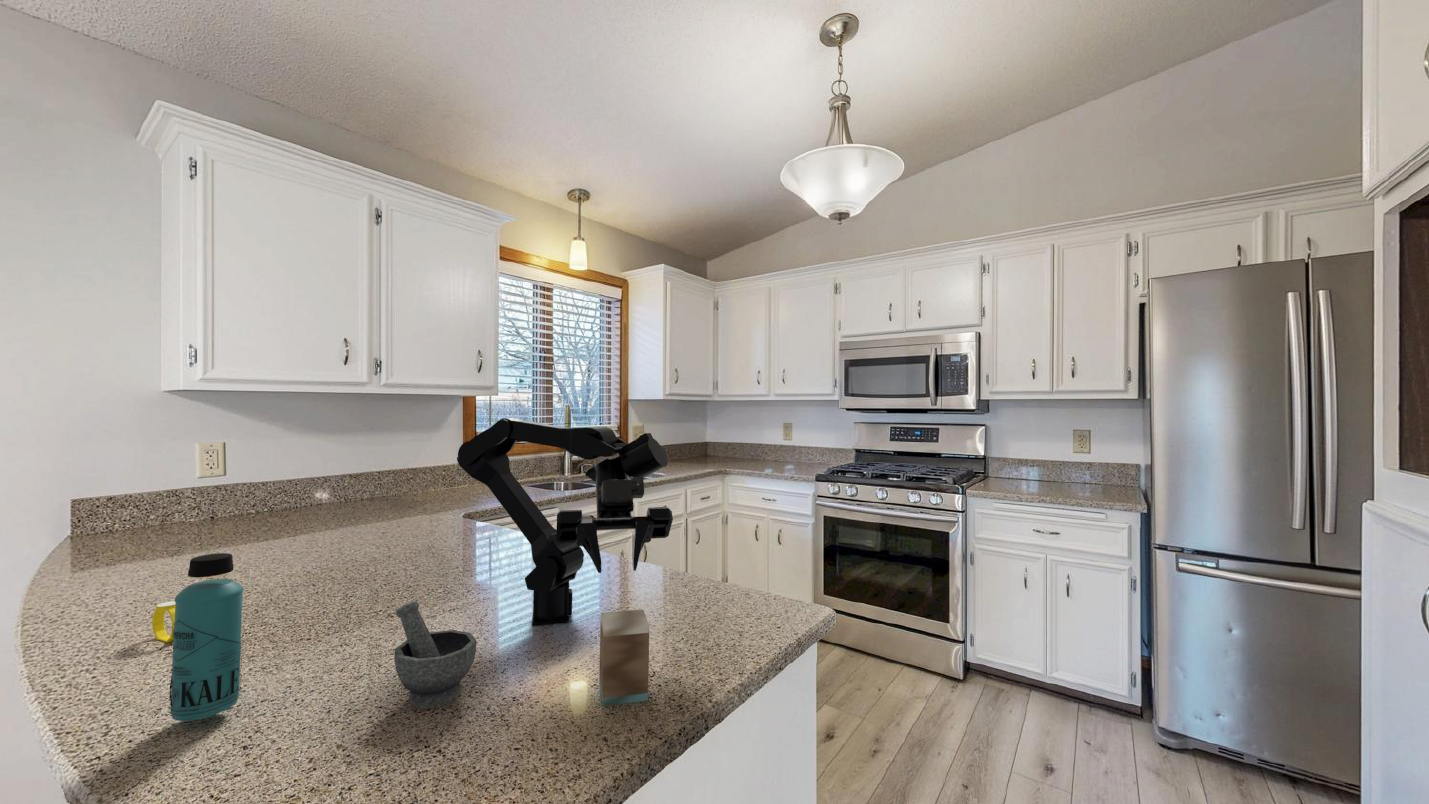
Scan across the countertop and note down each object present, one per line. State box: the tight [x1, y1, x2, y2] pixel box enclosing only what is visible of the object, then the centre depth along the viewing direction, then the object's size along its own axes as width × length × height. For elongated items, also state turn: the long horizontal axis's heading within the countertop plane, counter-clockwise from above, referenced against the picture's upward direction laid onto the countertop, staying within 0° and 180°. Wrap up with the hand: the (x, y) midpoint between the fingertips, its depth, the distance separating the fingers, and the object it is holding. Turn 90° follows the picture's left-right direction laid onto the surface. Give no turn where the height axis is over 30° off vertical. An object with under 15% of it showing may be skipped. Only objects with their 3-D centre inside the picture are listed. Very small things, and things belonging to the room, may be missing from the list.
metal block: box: [598, 609, 650, 707], centre depth 76 cm, size 6×6×10 cm
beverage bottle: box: [168, 552, 244, 722], centre depth 68 cm, size 6×7×20 cm
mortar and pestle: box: [394, 601, 477, 710], centre depth 74 cm, size 11×9×12 cm
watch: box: [151, 600, 175, 644], centre depth 90 cm, size 6×3×6 cm, turn 69°
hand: (617, 570), depth 86 cm, fingers open, 5 cm apart
